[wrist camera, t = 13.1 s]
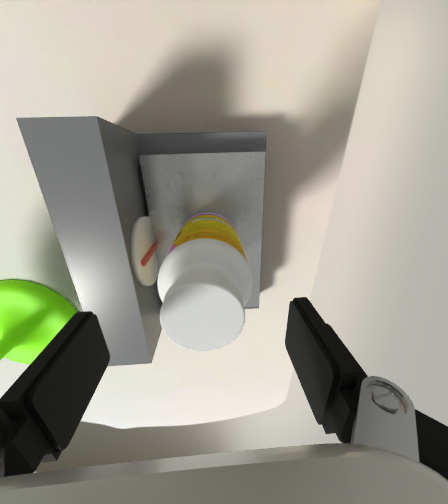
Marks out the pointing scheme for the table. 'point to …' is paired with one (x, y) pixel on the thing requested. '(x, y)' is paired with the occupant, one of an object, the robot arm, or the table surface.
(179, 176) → the pan
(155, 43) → the table surface
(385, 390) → the robot arm
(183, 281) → the supplement bottle
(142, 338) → the scale
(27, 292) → the wineglass
